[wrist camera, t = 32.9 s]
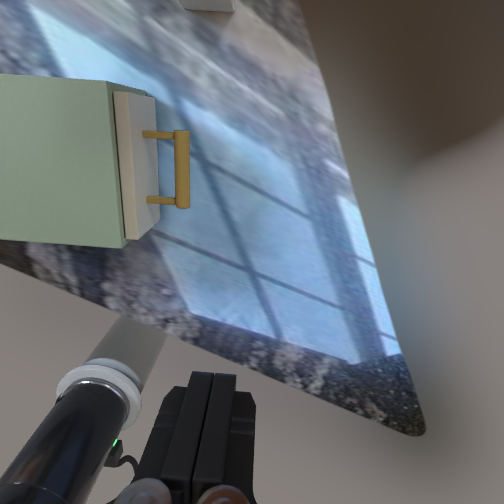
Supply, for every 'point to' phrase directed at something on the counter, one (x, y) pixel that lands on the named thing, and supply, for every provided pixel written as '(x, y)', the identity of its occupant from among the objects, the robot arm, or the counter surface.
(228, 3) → the white tall square block
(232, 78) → the counter surface
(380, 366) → the counter surface
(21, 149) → the cabinet
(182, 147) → the drawer
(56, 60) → the counter surface
